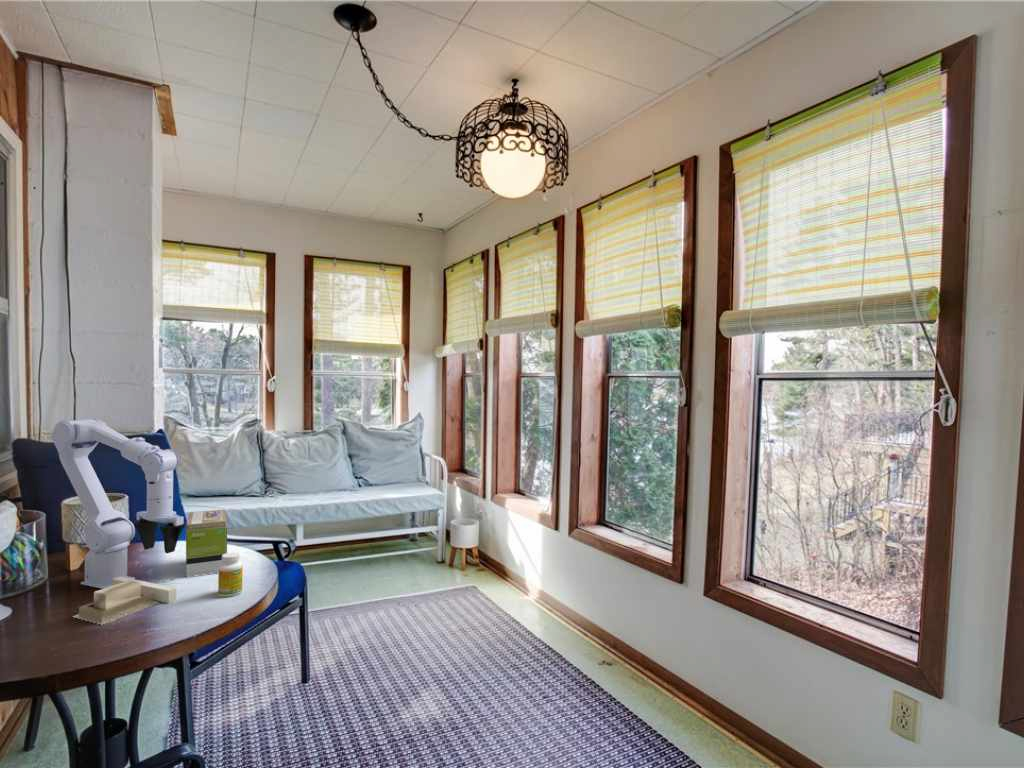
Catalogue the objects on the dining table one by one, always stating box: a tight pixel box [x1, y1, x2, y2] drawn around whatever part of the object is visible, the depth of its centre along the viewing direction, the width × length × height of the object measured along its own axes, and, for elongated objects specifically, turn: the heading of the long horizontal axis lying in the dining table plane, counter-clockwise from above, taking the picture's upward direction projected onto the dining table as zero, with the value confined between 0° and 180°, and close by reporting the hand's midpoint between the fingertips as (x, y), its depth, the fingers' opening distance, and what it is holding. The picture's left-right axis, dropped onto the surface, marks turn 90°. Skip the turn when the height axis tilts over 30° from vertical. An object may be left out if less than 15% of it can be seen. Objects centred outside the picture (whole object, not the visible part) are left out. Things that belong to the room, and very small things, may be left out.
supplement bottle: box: [217, 552, 244, 598], centre depth 141 cm, size 5×5×10 cm
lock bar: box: [93, 580, 141, 610], centre depth 130 cm, size 4×8×5 cm, turn 159°
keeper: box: [71, 592, 160, 626], centre depth 130 cm, size 10×13×2 cm
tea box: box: [185, 508, 228, 577], centre depth 161 cm, size 15×10×15 cm, turn 27°
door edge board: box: [112, 576, 177, 604], centre depth 139 cm, size 20×2×3 cm, turn 69°
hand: (159, 550), depth 145 cm, fingers open, 7 cm apart
